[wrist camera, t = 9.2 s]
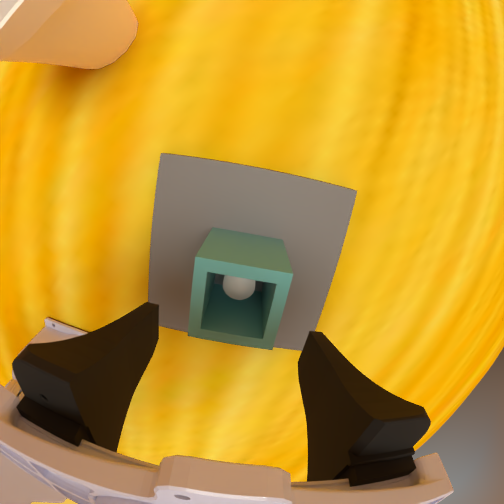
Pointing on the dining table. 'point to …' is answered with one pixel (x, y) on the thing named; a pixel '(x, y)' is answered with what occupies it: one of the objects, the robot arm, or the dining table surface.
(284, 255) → the sleeve
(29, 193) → the dining table surface
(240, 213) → the stub board
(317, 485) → the robot arm
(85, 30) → the foam cup
